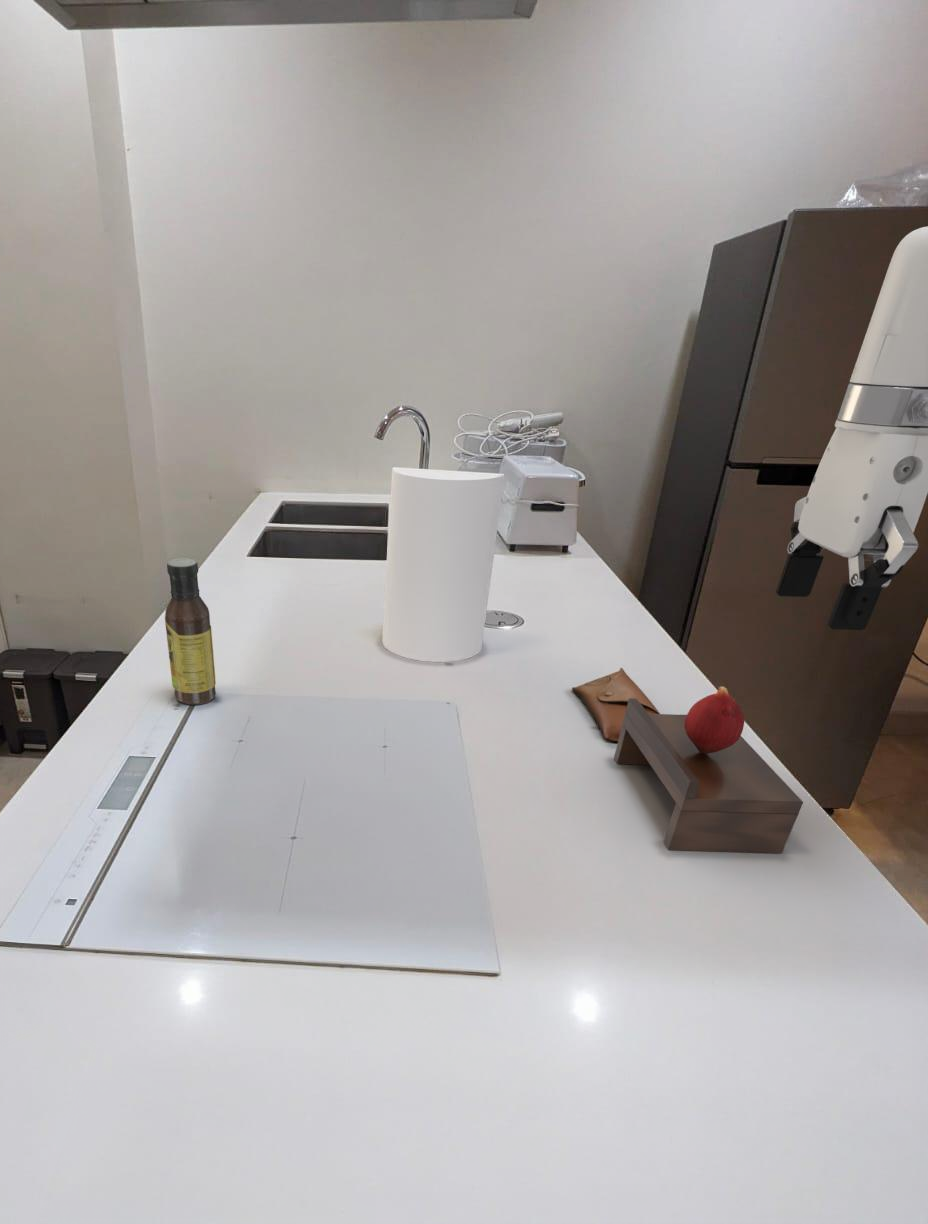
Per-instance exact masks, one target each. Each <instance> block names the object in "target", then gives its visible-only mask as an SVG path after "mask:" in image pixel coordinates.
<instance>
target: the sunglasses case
mask: <svg viewBox="0 0 928 1224" xmlns="http://www.w3.org/2000/svg"><path fill="white" fill-rule="evenodd" d="M571 691H573V692H574V693H575V694H576V695H577V696H578V697H579V699H580V700H581V701H582V703H583V704H584V706H585V707H586V709H587V710H588V712H589V713H590V714H591V716H592V718H593V720H594V721H595V723H596V725H597V727H598V728H599V730H600V732H601V734H602V735H603V737H604V738H605V739H606V740H608V741H611V742H617V743H618V740H619V736H620V732H621V728H622V724H623V720H624V716H625V712H626V708H627V704H628V700H629V698H631V699H637V700H638V701H639V702H640V704H641V705H642V706H643V708H644V709H645V710H646V712H647V713H648V714H661V713H660V711H659V710H658V709H657V707H656V706H655V705H654V704H653V703H652V701H651V700H650V698H649V697H648V696H647V695H646V694H645V693H644V692H643V690H642V689H641V688H640V687H639V686H638V685H637V684H636V682H635V681H634V680H633V679H631V677H630V676H629V675H628V674H627V673H626V672H625V670H624V668H622V667H620V668H619V670H618V671H615V672H612V673H609V674H606V675H604V676H601V677H599V678H596V679H593V680H591V681H588V682H586V683H583V684H581V685H577V686H572V687H571Z"/></svg>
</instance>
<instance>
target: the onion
mask: <svg viewBox="0 0 928 1224" xmlns="http://www.w3.org/2000/svg"><path fill="white" fill-rule="evenodd" d="M686 715H687V716H686V719H685V725H684V727H685V730H686V733H687V736H688V737H689V739H690V740H691V741H692V743H693V744H694V745H695V746H696V748H697V749H698V751H699V752H701V753H702V754H708V753H713V752H717V751H721V750H723V749H725V748H728V747H730V746H732V745H733V744H734V743H735V742H737V741H738V739H739V737H740V736H741V737H742V734H743V731H744V727H745V714H744V711H743V709H742V707H741V706H740V704H739V703H738V701H737V700H736V699H735V698H733V696H732V695H731V694H730V693H729V691H728V689H727V688H726V687H725V686H719V687H718V688H717V691H716V693H712V694H709V695H706V696H705V697H703V698H701V699H699V700H698V701H696V702H695V703H694V704H693V705H691V707H690V709H689V711H688V712H687V713H686Z"/></svg>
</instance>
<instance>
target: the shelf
mask: <svg viewBox="0 0 928 1224" xmlns="http://www.w3.org/2000/svg"><path fill="white" fill-rule="evenodd" d="M686 716H687V714H672V713H660V714H648V713H647V712H646V710H645V709H644V708H643V706H642V705H641V704H640V702H639V701H638V700H637V699H631V698H629V700H628V704H627V708H626V712H625V716H624V720H623V724H622V728H621V732H620V736H619V740H618V742H617V743H616V744H617V745H616V748H615V751H614V756H613V760H614V761H615V763H616V764H617V765H637V766H650V767H651V769H652V770H653V771H654V772H655V774H656V776H657V777H658V779H659V780H660V781H661V783H662V785H663V786H664V787H665V789H666V790H667V792H668V794H669V795H670V796H671V798H672V800H673V801H674V802H675V805H674V808H673V811H672V815H671V817H670V821H669V823H668V827H667V830H666V833H665V836H664V839H663V843H664V845H665V846H666V848H667V850H668V851H695V852H696V851H697V852H721V853H722V852H723V853H724V852H726V853H729V852H730V853H754V854H755V853H758V854H759V853H760V854H783V851H784V850H785V847H786V845H787V842H788V839H789V838H790V835H791V832H792V829H793V828H794V825H795V823H796V821H797V818H798V816H799V814H800V811H801V809H802V807H803V804H804V801H803V799H801V798H800V797H799V796H798V794H797V793H795V792H794V791H793V789H792V788H791V787H790V786H789V785H788V784H787V783H786V782H785V781H784V780H783V779H782V777H781V776H779V774H777V772H775V771H774V769H773V768H772V767H771V766H770V765H769V764H768V763H767V762H766V761H765V760H764V759H763V758H762V756H761V755H760V754H759V753H758V752H757V751H756V750H755V749H754V748H753V747H752V745H750V744H749V742H747V741H746V739H745V738H744V737H743V736H742V735H741V736H740V737H739V739H738V741H737V742H735V743H734V744H733V745H732V746H730V747H728V748H725V749H723V750H721V751H717V752H713V753H708V754H702V753H701V752H699V751H698V749H697V748H696V746H695V745H694V744H693V743H692V741H691V740H690V739H689V737H688V736H687V733H686V730H685V727H684V725H685V719H686Z"/></svg>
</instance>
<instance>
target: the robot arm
mask: <svg viewBox="0 0 928 1224" xmlns="http://www.w3.org/2000/svg"><path fill="white" fill-rule="evenodd" d="M834 427H835V430H834V432H833V434H832V436H831V437H830V439H829V442H828V444H827V446H826V448H825V450H824V453H823V455H822V457H821V460H820V461H819V464H818V467H817V469H816V472H815V474H814V476H813V479H812V481H811V484H810V487H809V490H808V492H807V495H806V496H804V497H802V498H800V499H799V500H797V501H796V502H795V505H794V512H793V523H792V525H791V527H790V537H791V540H790V542H789V543H788V545H787V553H788V555H787V558H786V561H785V562H784V566H783V570H782V573H781V575H780V578H779V581H778V584H777V587H776V590H775V593H776V595H778V596H779V597H790V598H791V597H794V598H795V597H796V598H806V597H809V596H810V595H811V594H812V592H813V591H812V590H813V588H814V585H815V582H816V580H817V577H818V574H819V572H820V568H821V566H822V563H823V560H824V558H825V556H824V555H822V554H821V553H822V552H823V551H824V550H825V549H826V550H827V551H830V552H831V553H834V554H836V555H839V556H841V557H844V558H847V560H848V562H847V563H848V576H849V578H848V579H849V582H848V583H847V582H846V583H845V582H844V583H842V585H841V588H840V590H839V592H838V596H837V597H836V600H835V603H834V606H833V608H832V610H831V614H830V616H829V619H828V621H827V624H826V625H827V628H829V629H831V630H835V631H836V630H838V631H839V630H840V631H863V630H865V629H866V628H867V627H868V625H869V622H870V619H871V618H872V614H873V612H874V610H875V607H876V605H877V602H878V600H879V598H880V596H881V593H882V591H883V588H888V586H890V584H891V582H892V579H893V578H895V577H896V576H898V575H899V574H900V573H901V572H902V571H903V569H904V566H905V565H906V563H907V562H908V561H909V560H910V559H911V557H912V556H914V554H915V553H916V552H917V550H918V548H919V542H918V540H917V538H916V535H915V534H914V533H915V529H916V527H917V524H918V522H919V518H920V516H921V513H922V510H923V508H924V506H925V505H924V504H925V502H926V499H927V496H928V226H922V227H919V228H916V229H914V230H912V231H910V232H909V233H908V234H906V235H905V236H904V237H903V238H902V239H901V240H900V241H899V243H898V245H897V246H896V248H895V250H894V252H893V254H892V257H891V259H890V262H889V265H888V268H887V271H886V273H885V277H884V280H883V282H882V285H881V288H880V291H879V294H878V296H877V300H876V303H875V305H874V309H873V312H872V315H871V318H870V321H869V324H868V327H867V330H866V332H865V336H864V338H863V342H862V343H861V347H860V350H859V353H858V356H857V359H856V362H855V364H854V368H853V371H852V373H851V377H850V379H849V383H848V385H847V388H846V391H845V394H844V397H843V399H842V403H841V405H840V409H839V411H838V414H837V418H836V420H835V423H834ZM866 561H868V562H873V563H872V564H871V565H869V566H867V567H866V566H865V562H866ZM865 567H866V568H865Z"/></svg>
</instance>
